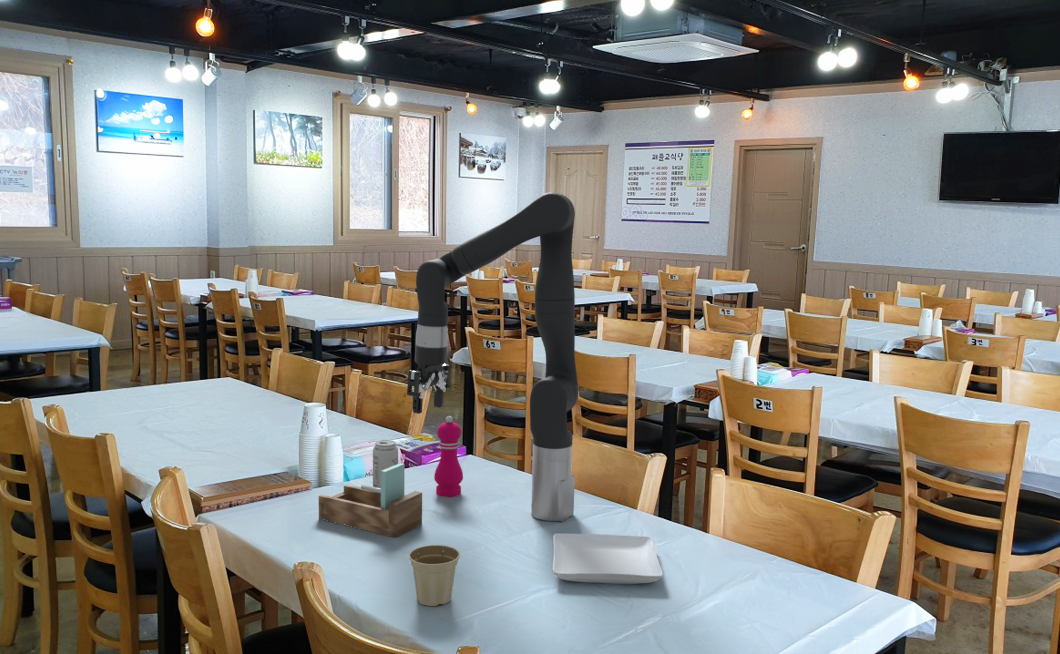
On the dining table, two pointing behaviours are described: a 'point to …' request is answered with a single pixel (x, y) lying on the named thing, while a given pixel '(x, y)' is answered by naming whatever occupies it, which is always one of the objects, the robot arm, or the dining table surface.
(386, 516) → the wooden box
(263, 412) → the dining table surface
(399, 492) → the pusher
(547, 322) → the robot arm
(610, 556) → the salad plate
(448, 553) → the flower pot
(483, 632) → the dining table surface
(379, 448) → the energy drink can
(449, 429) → the pepper mill
